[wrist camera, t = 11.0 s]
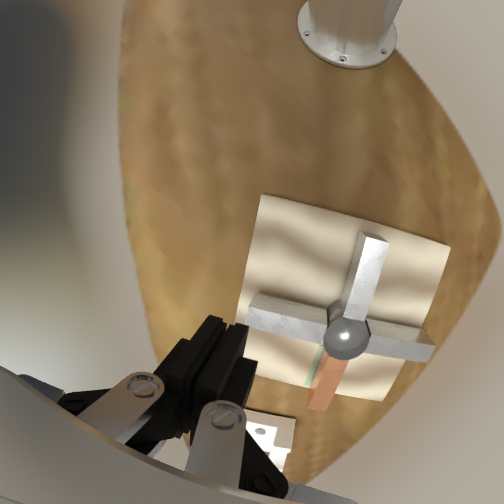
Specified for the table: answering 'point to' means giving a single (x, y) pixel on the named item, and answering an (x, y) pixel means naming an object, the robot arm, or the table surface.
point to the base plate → (332, 288)
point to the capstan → (342, 323)
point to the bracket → (271, 434)
